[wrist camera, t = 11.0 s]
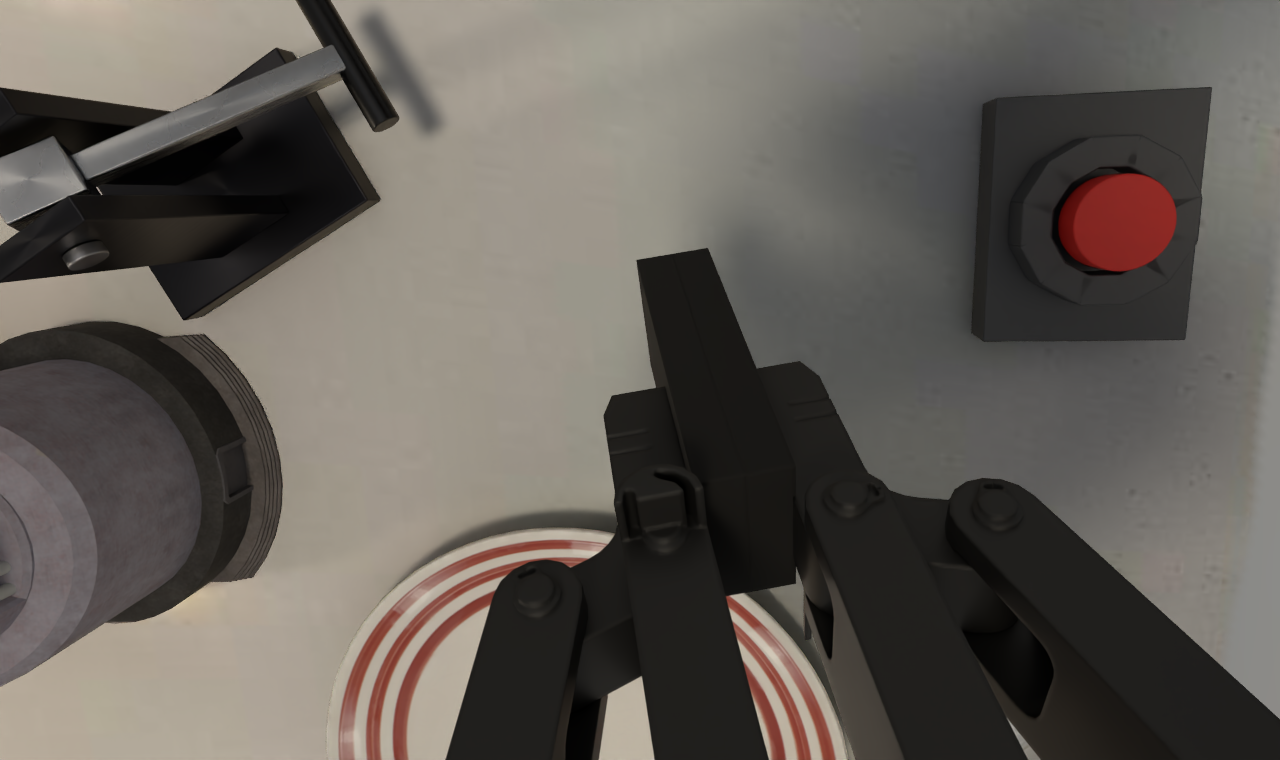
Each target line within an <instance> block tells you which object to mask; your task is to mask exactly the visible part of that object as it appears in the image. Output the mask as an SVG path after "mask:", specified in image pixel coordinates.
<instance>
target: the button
mask: <svg viewBox="0 0 1280 760" xmlns="http://www.w3.org/2000/svg"><path fill="white" fill-rule="evenodd" d="M1176 217H1177V215H1176V208H1175V204H1174V201H1173V199H1172V197H1171V195H1170V193H1169V192H1168V191H1167V189H1166V188H1165V187H1164V186H1163V185H1162V184H1161V183H1159V182H1158V181H1156V180H1155V179H1153V178H1150V177H1148V176H1145V175H1141V174H1134V173H1126V174H1110V175H1103V176H1098V177H1095V178H1092V179H1090V180H1088V181H1086V182H1085V183H1083V184H1081V185H1080V186H1079V187H1077V188H1076V189H1075V190H1074V191H1073V192H1072V193H1071V194H1070V196H1069V197H1068V198H1067V200H1066V201H1065V203H1064V205H1063V207H1062V209H1061V212H1060V216H1059V221H1058V231H1059V237H1060V240H1061V243H1062V245H1063V247H1064V248H1065V250H1066V251H1067V252H1068V254H1069V255H1070V256H1071V257H1073V258H1074V259H1075V260H1077V261H1078V262H1080V263H1082V264H1084V265H1087V266H1090V267H1095V268H1099V269H1104V270H1109V271H1128V270H1133V269H1136V268H1139V267H1142V266H1144V265H1146V264H1148V263H1149V262H1151V261H1152V260H1154V259H1155V258H1156V257H1158V256H1159V255H1160V254H1161V253H1162V252H1163V250H1164V249H1165V248H1166V247H1167V245H1168V244H1169V242H1170V240H1171V238H1172V236H1173V234H1174V230H1175V227H1176Z"/></svg>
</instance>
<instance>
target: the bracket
mask: <svg viewBox="0 0 1280 760" xmlns="http://www.w3.org/2000/svg"><path fill="white" fill-rule="evenodd" d="M294 60H296V58H295V56H294V55H293V53H292V52H289V51H286V50H282V49H279V48H275V49H273V50H272V51H271V52H269V53H268V54H267V55H265V56H264V57H262V58H261V59H260V60H258V61H257V62H256V63H254V64H253V65H252V66H250V67H249V68H247V69H246V70H245V71H243V72H242V73H241V74H239V75H238V76H237V77H235V78H234V79H232V80H231V81H230V82H228V83H227V84H226V85H224V86H223V87H222V88H220V89H219V90H217V91H216V92H215V93H218V92H220V91H222V90H225V89H227V88H230V87H232V86H234V85H237V84H239V83H241V82H244V81H246V80H249V79H251V78H253V77H256V76H258V75H261V74H263V73H265V72H268V71H270V70H272V69H275V68H277V67H280V66H282V65H284V64H287V63H289V62H291V61H294ZM215 93H213V94H215ZM213 94H212V95H213ZM168 113H170V111H163V110H156V109H149V108H142V107H135V106H128V105H120V104H113V103H106V102H99V101H92V100H85V99H78V98H71V97H64V96H57V95H49V94H42V93H35V92H28V91H21V90H14V89H7V88H0V157H1V156H3V155H6V154H8V153H10V152H13V151H15V150H18V149H20V148H23V147H25V146H27V145H30V144H32V143H35V142H37V141H40V140H42V139H44V138H47V137H49V136H54V137H55V138H56V139H58V140H59V141H60V142H61V143H62V144H63V145H64V146H65V147H66V148H67V149H69V150H70V151H71V152H72V153H75V152H77V151H80V150H82V149H85V148H87V147H89V146H92V145H94V144H96V143H99V142H101V141H104V140H106V139H108V138H111V137H113V136H115V135H118V134H120V133H123V132H125V131H127V130H130V129H132V128H135V127H137V126H139V125H142V124H144V123H146V122H149V121H151V120H154V119H156V118H158V117H161V116H163V115H165V114H168ZM98 188H99V190H100V191H101V193H102V194H103V195H69V196H67V197H66V198H64V199H63V200H62V201H60V202H59V203H58V204H56V205H55V206H53V207H52V208H51V209H49V210H48V211H47V212H45V213H44V214H43V215H41V216H40V217H38V218H37V219H36V220H34V221H33V222H32V223H30V224H29V225H28V226H26V227H25V228H24V229H22V230H21V231H19V232H18V233H17V234H15V235H14V236H13V237H11V238H10V239H9V240H7V241H6V242H4V243H3V244H2V245H0V283H3V282H11V281H20V280H29V279H38V278H47V277H55V276H64V275H73V274H82V273H91V272H100V271H108V270H117V269H126V268H135V267H144V266H149V268H150V269H151V271H152V272H153V274H154V275H155V277H156V278H157V280H158V282H159V283H160V285H161V286H162V288H163V289H164V291H165V293H166V294H167V296H168V297H169V299H170V300H171V302H172V303H173V305H174V307H175V308H176V310H177V311H178V313H179V314H180V316H181V317H182V319H183V320H189V319H194V318H199V317H202V316H204V315H205V314H207V313H208V312H210V311H211V310H213V309H214V308H216V307H217V306H219V305H220V304H222V303H223V302H225V301H227V300H228V299H230V298H231V297H233V296H234V295H236V294H237V293H239V292H240V291H242V290H243V289H245V288H246V287H248V286H250V285H251V284H253V283H254V282H256V281H257V280H259V279H260V278H262V277H263V276H265V275H266V274H268V273H270V272H271V271H273V270H274V269H276V268H277V267H279V266H280V265H282V264H283V263H285V262H286V261H288V260H289V259H291V258H293V257H294V256H296V255H297V254H299V253H300V252H302V251H303V250H305V249H306V248H308V247H309V246H311V245H312V244H314V243H316V242H317V241H319V240H320V239H322V238H323V237H325V236H326V235H328V234H329V233H331V232H332V231H334V230H336V229H337V228H339V227H340V226H342V225H343V224H345V223H346V222H348V221H349V220H351V219H352V218H354V217H355V216H357V215H359V214H360V213H362V212H363V211H365V210H366V209H368V208H369V207H371V206H372V205H374V204H375V203H377V202H379V200H380V199H379V197H378V195H377V194H376V192H375V190H374V189H373V187H372V185H371V184H370V182H369V180H368V179H367V177H366V175H365V173H364V172H363V170H362V168H361V167H360V165H359V163H358V162H357V160H356V158H355V157H354V155H353V153H352V152H351V150H350V148H349V147H348V145H347V143H346V142H345V140H344V138H343V137H342V135H341V133H340V132H339V130H338V128H337V127H336V125H335V123H334V122H333V120H332V118H331V117H330V115H329V113H328V112H327V110H326V108H325V107H324V105H323V103H322V102H321V100H320V98H319V97H318V95H317V93H316V92H313V93H311V94H309V95H306V96H304V97H302V98H299V99H297V100H295V101H293V102H290V103H288V104H286V105H283V106H281V107H279V108H277V109H274V110H272V111H270V112H267V113H265V114H263V115H260V116H258V117H256V118H254V119H251V120H249V121H247V122H244V123H242V124H240V125H238V126H235V127H233V128H231V129H228V130H226V131H224V132H221V133H219V134H217V135H215V136H212V137H210V138H208V139H205V140H203V141H201V142H199V143H196V144H194V145H192V146H189V147H187V148H185V149H182V150H180V151H178V152H176V153H173V154H171V155H169V156H166V157H164V158H162V159H160V160H157V161H155V162H153V163H150V164H148V165H146V166H143V167H141V168H139V169H137V170H134V171H132V172H130V173H127V174H125V175H123V176H121V177H118V178H116V179H114V180H111V181H109V182H107V183H104V184H102V185H100V186H98Z"/></svg>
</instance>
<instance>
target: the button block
mask: <svg viewBox="0 0 1280 760" xmlns="http://www.w3.org/2000/svg"><path fill="white" fill-rule="evenodd" d="M1211 92H1212V88H1211V87H1202V88H1182V89H1162V90H1143V91H1123V92H1103V93H1083V94H1063V95H1044V96H1024V97H1004V98H996V99H994V100H991V101H989V102H987V103H984V104H983V114H982V134H981V154H980V173H979V193H978V213H977V232H976V252H975V272H974V292H973V311H972V331H971V333H972V334H973V335H975V336H976V337H978V338H979V339H981V340H982V341H984V342H1001V341H1124V340H1185V337H1186V328H1187V318H1188V309H1189V300H1190V290H1191V281H1192V271H1193V262H1194V252H1195V245H1196V244H1197V241H1198V234H1199V225H1200V215H1201V206H1202V197H1201V196H1202V194H1201V186H1202V177H1203V168H1204V158H1205V149H1206V139H1207V130H1208V120H1209V111H1210V101H1211ZM1126 173H1134V174H1141V175H1145V176H1148V177H1150V178H1153V179H1155V180H1156V181H1158V182H1159V183H1161V184H1162V185H1163V186H1164V187H1165V188H1166V189H1167V191H1168V192H1169V193H1170V195H1171V197H1172V199H1173V201H1174V204H1175V208H1176V215H1177V217H1176V227H1175V230H1174V234H1173V236H1172V238H1171V240H1170V242H1169V244H1168V245H1167V247H1166V248H1165V249H1164V250H1163V252H1162V253H1161V254H1160V255H1159V256H1158V257H1156V258H1155V259H1154V260H1152V261H1151V262H1149V263H1148V264H1146V265H1144V266H1142V267H1139V268H1136V269H1133V270H1128V271H1109V270H1104V269H1099V268H1095V267H1090V266H1087V265H1084V264H1082V263H1080V262H1078V261H1077V260H1075V259H1074V258H1073V257H1071V256H1070V255H1069V254H1068V252H1067V251H1066V250H1065V248H1064V247H1063V245H1062V243H1061V240H1060V237H1059V231H1058V221H1059V216H1060V212H1061V209H1062V207H1063V205H1064V203H1065V201H1066V200H1067V198H1068V197H1069V196H1070V194H1071V193H1072V192H1073V191H1074V190H1075V189H1076V188H1077V187H1079V186H1080V185H1081V184H1083V183H1085V182H1086V181H1088V180H1090V179H1092V178H1095V177H1098V176H1103V175H1110V174H1126Z"/></svg>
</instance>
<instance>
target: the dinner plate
mask: <svg viewBox="0 0 1280 760" xmlns="http://www.w3.org/2000/svg"><path fill="white" fill-rule="evenodd" d="M614 535H615V533H610V532H606V531H599V530H591V529H582V528H559V527H551V528H535V529H525V530H518V531H511V532H510V533H503V534H498V535H493V536H490V537H487V538H484V539H481V540H478V541H474V542H472V543H469V544H466V545H463V546H461V547H459V548H457V549H454V550H452V551H450V552H448V553H445V554H443V555H441V556H440V557H438V558H436V559H434V560H432V561H431V562H429V563H427V564H426V565H424V566H422V567H421V568H419V569H418V570H416V571H415V572H413V573H412V574H411V575H410V576H408V577H407V578H406V579H404V580H403V581H402V582H401V583H399V584H398V585H397V586H396V587H395V588H394V589H393V590H392V591H391V592H389V593H388V594H387V595H386V596H385V597H384V598H383V599H382V600H381V601H380V603H379V604H378V605H377V606H376V607H375V608H374V609H373V611H372V612H371V613H370V614H369V616H368V617H367V618H366V620H365V621H364V622H363V624H362V625H361V627H360V628H359V630H358V632H357V633H356V635H355V636H354V638H353V640H352V642H351V644H350V646H349V648H348V650H347V652H346V654H345V656H344V658H343V660H342V663H341V665H340V667H339V670H338V673H337V676H336V679H335V682H334V686H333V690H332V694H331V698H330V703H329V709H328V717H327V731H326V751H327V760H445V759H446V756H447V753H448V749H449V746H450V742H451V739H452V735H453V732H454V728H455V725H456V722H457V718H458V715H459V711H460V708H461V704H462V701H463V698H464V694H465V691H466V687H467V684H468V680H469V677H470V673H471V670H472V667H473V663H474V660H475V656H476V653H477V649H478V646H479V642H480V639H481V636H482V632H483V629H484V625H485V622H486V618H487V615H488V611H489V608H490V605H491V601H492V598H493V595H494V593H495V591H496V589H497V587H498V585H499V583H500V581H501V580H502V579H503V578H504V577H506V576H507V575H508V574H509V573H510V572H511V571H512V570H513V569H515V568H517V567H519V566H521V565H524V564H526V563H528V562H532V561H538V560H545V559H547V560H553V561H558V562H562V563H564V564H566V565H567V566H569V567H570V568H571V567H573V566H575V565H577V564H579V563H581V562H583V561H585V560H587V559H589V558H591V557H592V556H594V555H596V554H597V553H599V552H600V551H601V550H602V549H603V548H604V547H606V546H607V545H608V544H609V542H610V541H611V539H612V538H613V536H614ZM726 599H727V603H728V607H729V610H730V614H731V618H732V622H733V625H734V629H735V633H736V637H737V641H738V644H739V648H740V652H741V656H742V659H743V663H744V667H745V671H746V675H747V678H748V682H749V686H750V690H751V694H752V697H753V701H754V705H755V709H756V712H757V716H758V720H759V724H760V728H761V731H762V735H763V739H764V743H765V746H766V750H767V754H768V758H769V760H848V754H847V750H846V745H845V740H844V736H843V732H842V729H841V726H840V723H839V720H838V718H837V715H836V712H835V710H834V708H833V705H832V703H831V701H830V699H829V696H828V694H827V692H826V689H825V688H824V686H823V684H822V682H821V681H820V679H819V677H818V675H817V673H816V672H815V670H814V668H813V667H812V665H811V664H810V662H809V661H808V659H807V658H806V656H805V655H804V653H803V652H802V651H801V649H800V648H799V647H798V645H797V644H796V643H795V641H794V640H793V639H792V638H791V637H790V635H789V634H788V633H787V632H786V631H785V630H784V629H783V628H782V627H781V626H780V625H779V623H778V622H777V621H776V620H775V619H774V618H773V617H772V616H771V615H770V614H769V613H768V612H767V611H766V610H765V609H763V608H762V607H761V606H760V605H759V604H758V603H757V602H756V601H755V600H753V599H752V598H751V597H750V596H748V595H747V594H746V593H741V594H736V595H731V596H726ZM599 760H655V759H654V753H653V746H652V740H651V733H650V727H649V720H648V714H647V707H646V700H645V694H644V687H643V681H642V676H641V677H639V678H637V679H635V680H634V681H632V682H630V683H628V684H626V685H624V686H622V687H621V688H619V689H617V690H615V691H613V692H611V693H609V694H608V700H607V707H606V714H605V721H604V728H603V735H602V741H601V748H600V755H599Z"/></svg>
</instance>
